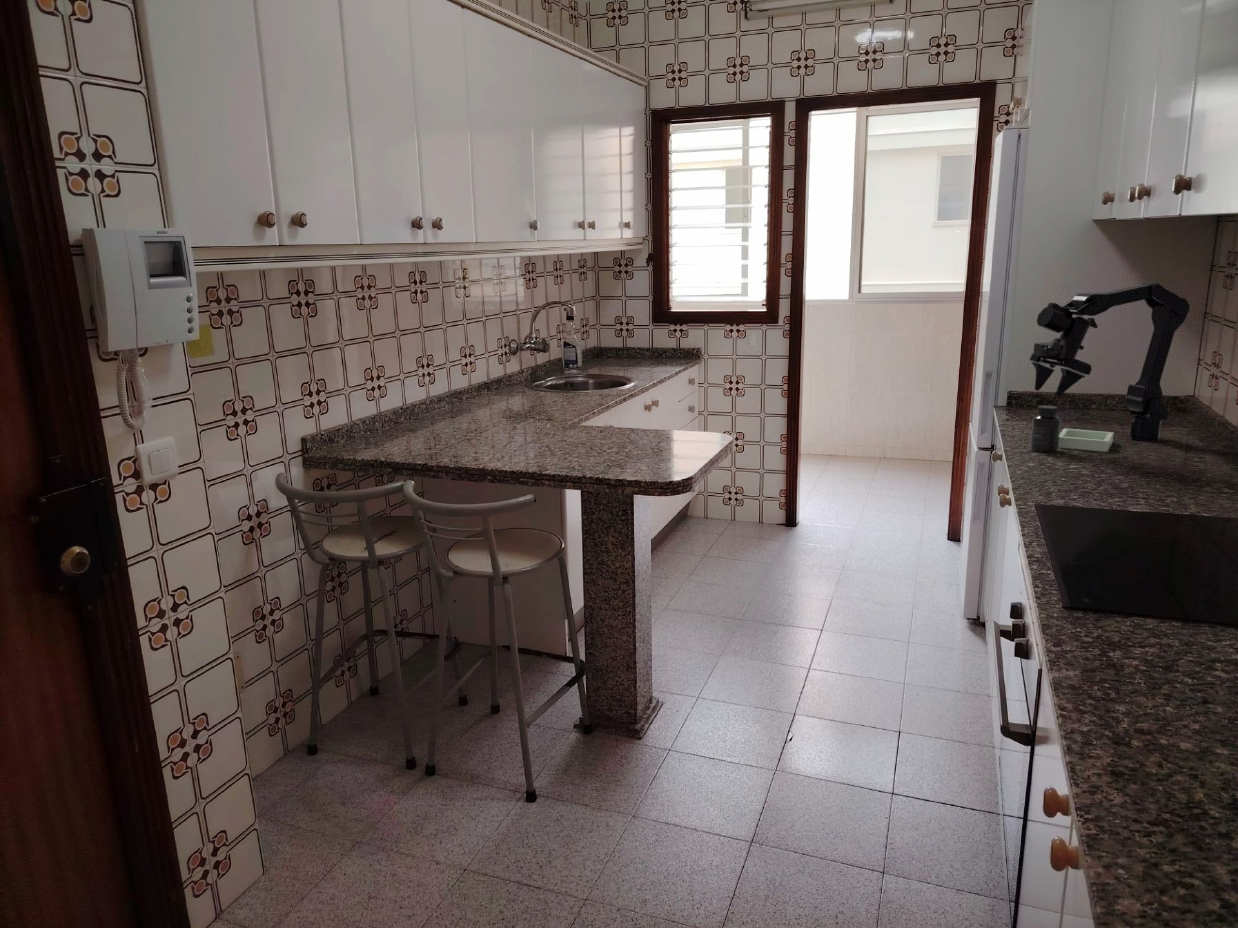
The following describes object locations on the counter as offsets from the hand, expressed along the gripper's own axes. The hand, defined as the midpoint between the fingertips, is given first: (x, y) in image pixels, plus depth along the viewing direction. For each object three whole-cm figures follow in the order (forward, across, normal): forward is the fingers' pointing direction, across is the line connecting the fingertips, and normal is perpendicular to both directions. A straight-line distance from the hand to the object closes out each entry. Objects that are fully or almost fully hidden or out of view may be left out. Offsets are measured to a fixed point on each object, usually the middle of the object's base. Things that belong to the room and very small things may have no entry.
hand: (1046, 392), depth 232 cm
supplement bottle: (+15, +4, +4) cm, 16 cm away
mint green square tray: (+10, +2, +16) cm, 19 cm away
